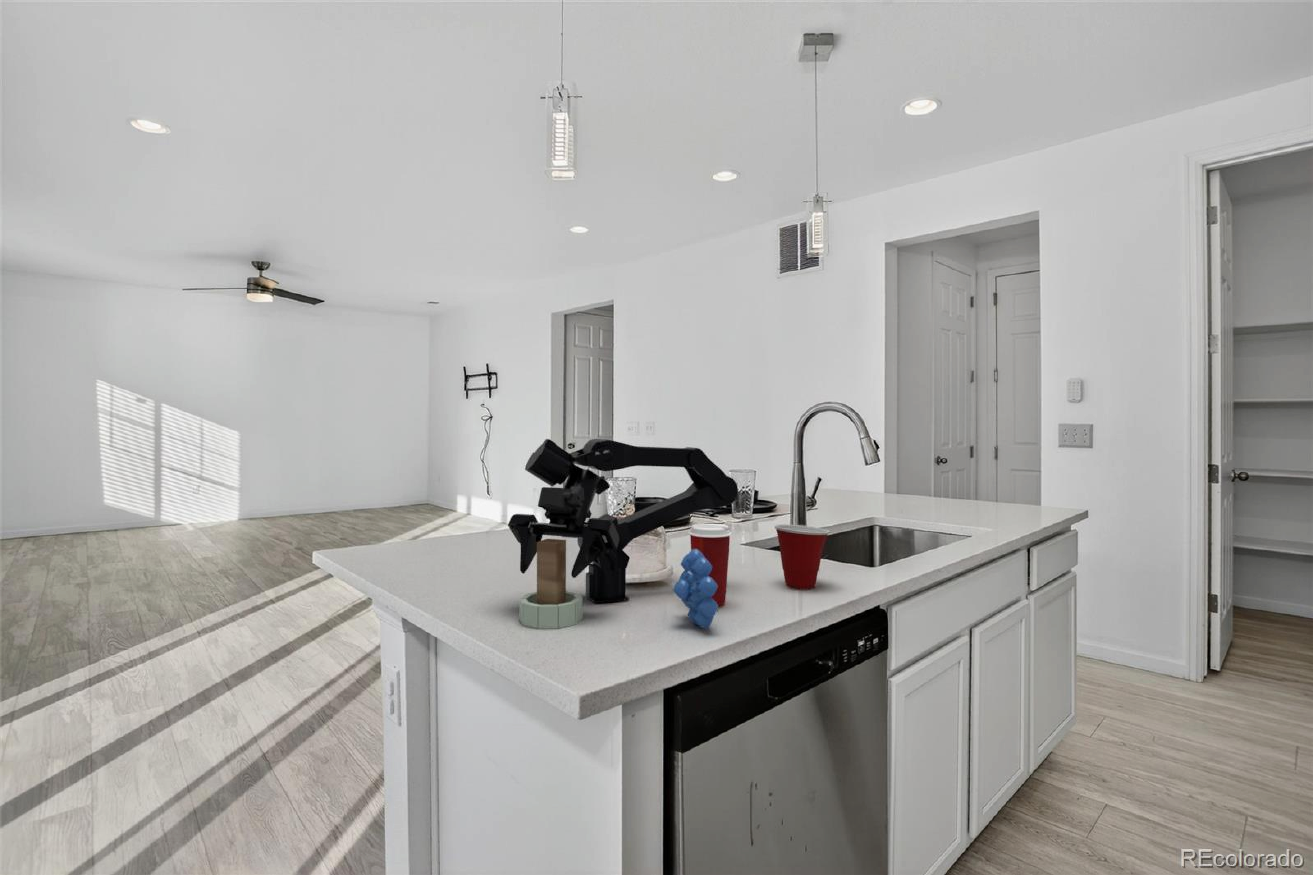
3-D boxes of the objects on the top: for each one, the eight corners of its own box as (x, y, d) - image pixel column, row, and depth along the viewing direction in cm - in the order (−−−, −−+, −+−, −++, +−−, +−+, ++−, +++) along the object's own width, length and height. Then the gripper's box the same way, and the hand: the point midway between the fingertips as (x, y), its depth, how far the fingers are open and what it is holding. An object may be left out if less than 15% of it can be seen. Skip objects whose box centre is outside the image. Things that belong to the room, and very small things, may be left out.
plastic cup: (840, 590, 128) (841, 528, 127) (794, 595, 124) (794, 532, 123) (807, 577, 138) (808, 520, 137) (763, 582, 134) (763, 523, 133)
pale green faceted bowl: (572, 607, 114) (572, 588, 114) (588, 625, 105) (588, 603, 105) (515, 613, 111) (515, 593, 110) (527, 632, 101) (527, 609, 101)
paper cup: (736, 601, 119) (737, 524, 119) (722, 612, 112) (723, 531, 112) (696, 596, 123) (697, 521, 122) (680, 606, 116) (681, 527, 115)
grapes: (660, 616, 110) (661, 545, 109) (698, 613, 112) (698, 543, 111) (685, 638, 99) (686, 559, 98) (726, 634, 101) (727, 556, 100)
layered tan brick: (546, 609, 110) (547, 538, 110) (565, 611, 109) (565, 540, 109) (536, 615, 107) (536, 542, 106) (556, 617, 105) (556, 543, 105)
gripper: (513, 467, 114) (477, 541, 103) (613, 470, 108) (585, 549, 98) (535, 507, 121) (503, 579, 111) (629, 511, 116) (605, 589, 105)
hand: (547, 574), depth 106 cm, fingers open, 9 cm apart
